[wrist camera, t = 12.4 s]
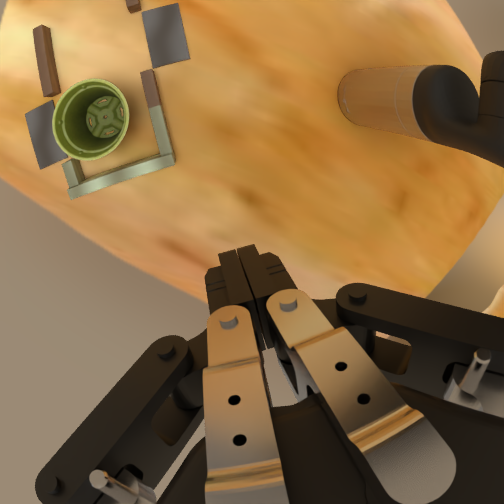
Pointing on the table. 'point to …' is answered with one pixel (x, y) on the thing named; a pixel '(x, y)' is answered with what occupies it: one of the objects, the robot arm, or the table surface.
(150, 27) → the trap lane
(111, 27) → the table surface
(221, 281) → the robot arm
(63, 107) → the plant pot
